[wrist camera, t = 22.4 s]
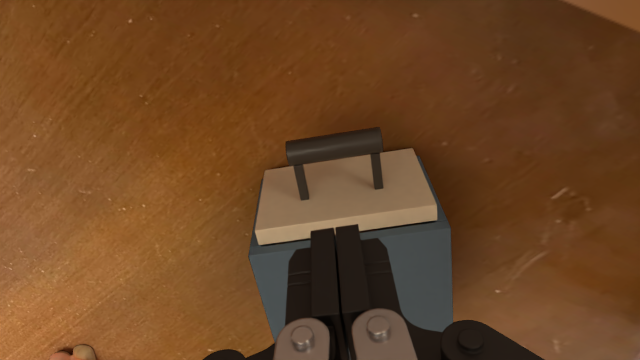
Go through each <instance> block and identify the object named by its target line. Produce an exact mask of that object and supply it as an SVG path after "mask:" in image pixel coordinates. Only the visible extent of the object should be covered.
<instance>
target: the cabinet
mask: <svg viewBox="0 0 640 360" xmlns="http://www.w3.org/2000/svg"><path fill="white" fill-rule="evenodd" d="M416 157H417V159H418V162H419V164H420V166H421V169H422V171H423V173H424V176H425V178H426V181H427V183H428V185H429V188H430V190H431V192H432V195H433V197H434V199H435V202H436V204H437V220H435V221H428V222H421V223H422V224H420V225H413V226H406V227H399V228H392V229H385V230H377V231H370V232H363V233H360V239H361V240H365V239H372V238H378V239H379V240H380V241H381V242H382V243H383V244H384V245H385V246H386V247H387V251H388V255H389V259H390V264H391V268H392V273H393V277H394V282H395V286H396V291H397V295H398V299H399V304H400V308H401V311H402V313H403V315H404V317H405V318H406V319H407V320H408V321H409V322H410V323H412V324H413V325H415V326H417V327H419V328H422V329H426V330H432V331H439V332H443V331H444V329H445V328H446V327H447V326H449V325H450V324H452V323H453V298H452V256H451V227H450V225H449V223H448V221H447V218H446V216H445V214H444V211H443V209H442V207H441V205H440V202H439V200H438V198H437V195H436V193H435V191H434V189H433V186H432V184H431V182H430V179H429V177H428V175H427V173H426V170H425V168H424V166H423V163H422V161H421V159H420V156H416ZM262 185H263V179H262V181H261V187H260V192H259V198H258V204H257V209H256V215H255V221H254V227H253V232H252V238H251V244H250V250H249V256H248V257H249V260H250V263H251V266H252V270H253V273H254V276H255V279H256V283H257V286H258V289H259V292H260V296H261V299H262V302H263V306H264V309H265V312H266V315H267V319H268V322H269V325H270V328H271V332H272V335H273V338H274V341H275V342H276V339H277V336H278V334H279V332H280V331H281V329H282V328H283V327H284V326H285V316H286V299H287V287H288V285H287V282H288V265H289V260H290V258H291V257H292V255H293V253H294V252H295V250H296V249H302V248H309V247H310V240H306V241H299V242H292V243H285V244H278V245H276V243H272V244H265V245H259V244H258V241H257V237H256V234H255V226H256V220H257V215H258V209H259V203H260V197H261V191H262ZM335 237H336V236H335ZM349 354H350V351H349ZM350 360H351V357H350Z"/></svg>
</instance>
